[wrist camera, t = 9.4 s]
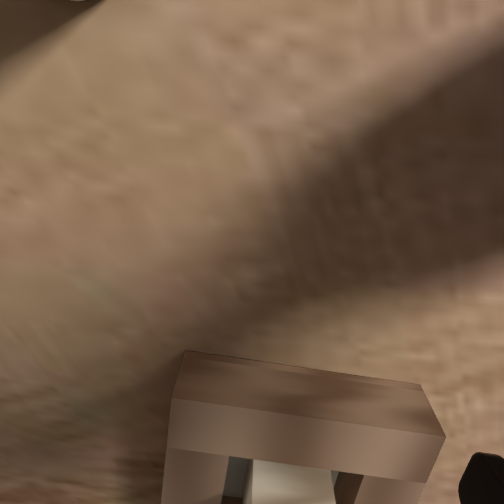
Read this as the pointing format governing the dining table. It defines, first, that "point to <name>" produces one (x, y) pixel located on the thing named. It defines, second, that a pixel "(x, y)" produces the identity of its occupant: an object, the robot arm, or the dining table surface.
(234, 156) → the dining table surface
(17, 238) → the dining table surface
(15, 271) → the dining table surface
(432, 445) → the socket block
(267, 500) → the peg
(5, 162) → the dining table surface
